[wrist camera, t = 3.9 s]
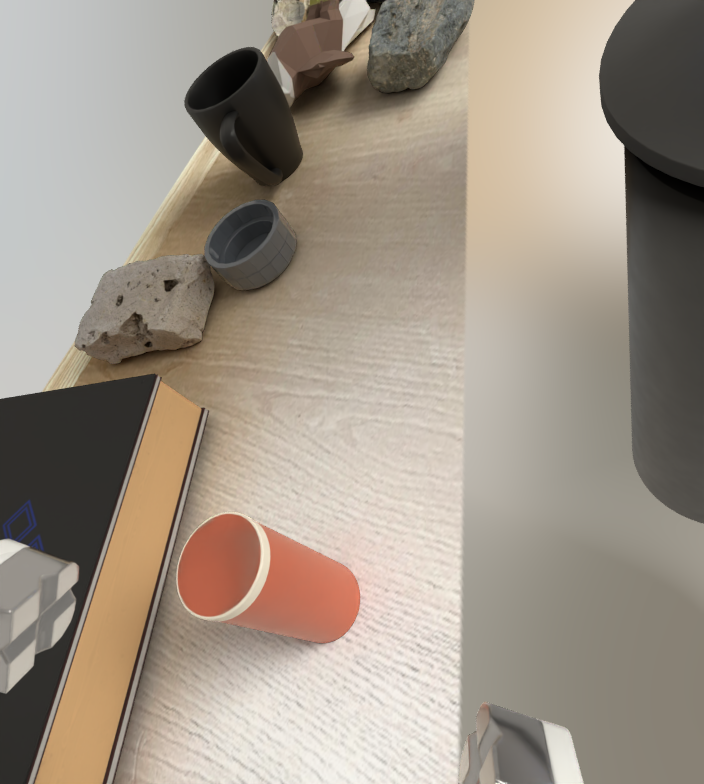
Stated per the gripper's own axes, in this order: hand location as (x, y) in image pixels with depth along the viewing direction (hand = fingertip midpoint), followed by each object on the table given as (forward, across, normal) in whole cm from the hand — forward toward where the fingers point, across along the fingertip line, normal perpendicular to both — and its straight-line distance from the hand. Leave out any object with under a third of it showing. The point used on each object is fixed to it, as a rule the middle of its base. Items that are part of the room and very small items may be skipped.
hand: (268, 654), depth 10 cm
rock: (+51, +5, -24) cm, 57 cm away
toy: (+56, +18, -32) cm, 67 cm away
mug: (+47, +16, -10) cm, 51 cm away
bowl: (+39, +14, -3) cm, 42 cm away
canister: (+18, 0, +12) cm, 22 cm away
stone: (+38, +22, +5) cm, 44 cm away
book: (+22, +17, +21) cm, 35 cm away
